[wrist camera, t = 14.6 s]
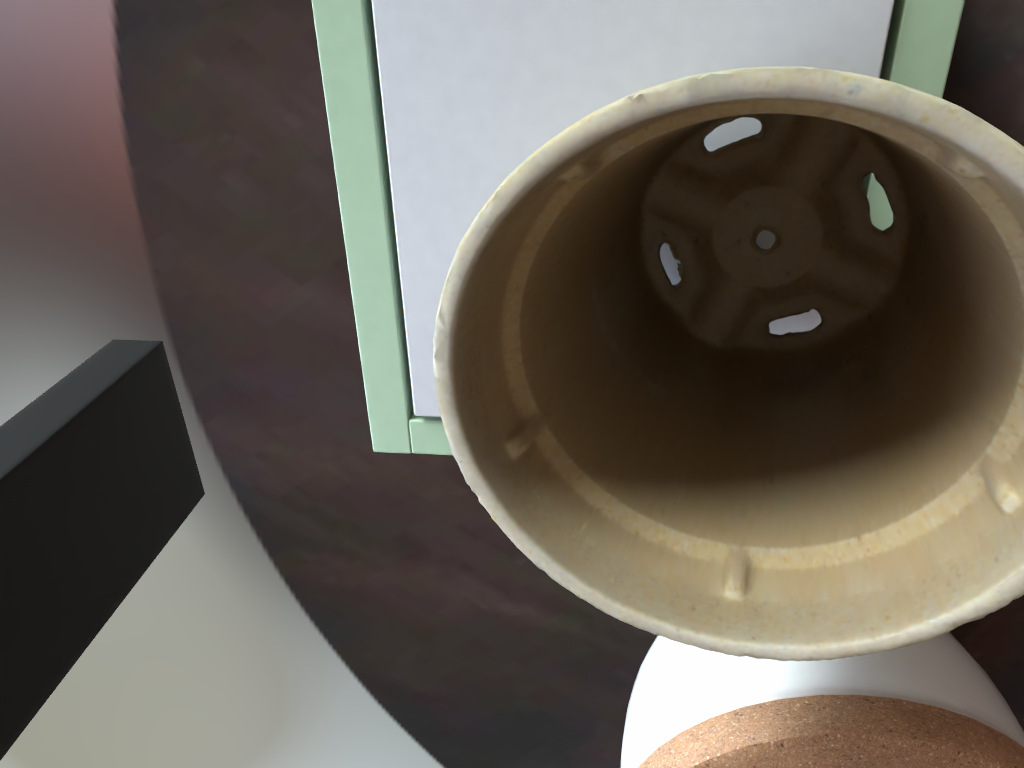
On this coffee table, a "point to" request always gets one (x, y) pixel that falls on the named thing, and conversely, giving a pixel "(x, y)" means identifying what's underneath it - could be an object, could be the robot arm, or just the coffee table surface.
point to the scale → (369, 209)
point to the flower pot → (753, 364)
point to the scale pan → (561, 102)
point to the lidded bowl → (819, 711)
